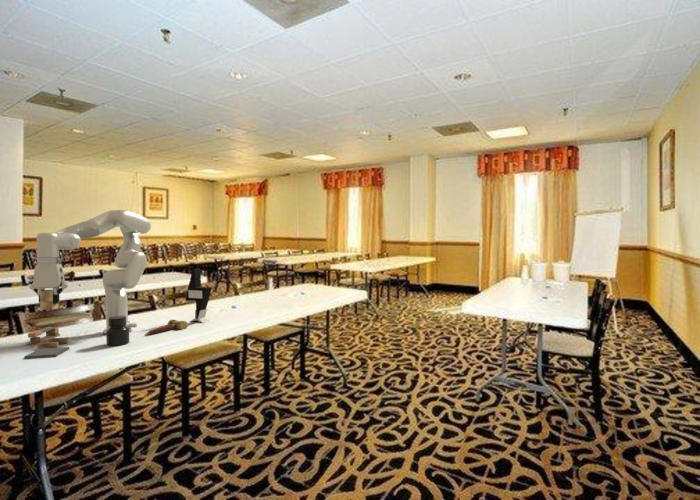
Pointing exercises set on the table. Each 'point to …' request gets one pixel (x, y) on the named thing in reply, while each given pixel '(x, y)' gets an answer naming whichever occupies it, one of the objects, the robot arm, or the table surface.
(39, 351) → the mat
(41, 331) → the cutter lever
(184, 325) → the gavel
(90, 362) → the table surface
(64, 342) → the cradle
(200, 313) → the award
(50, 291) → the block
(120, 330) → the ink bottle
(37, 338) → the lever base
